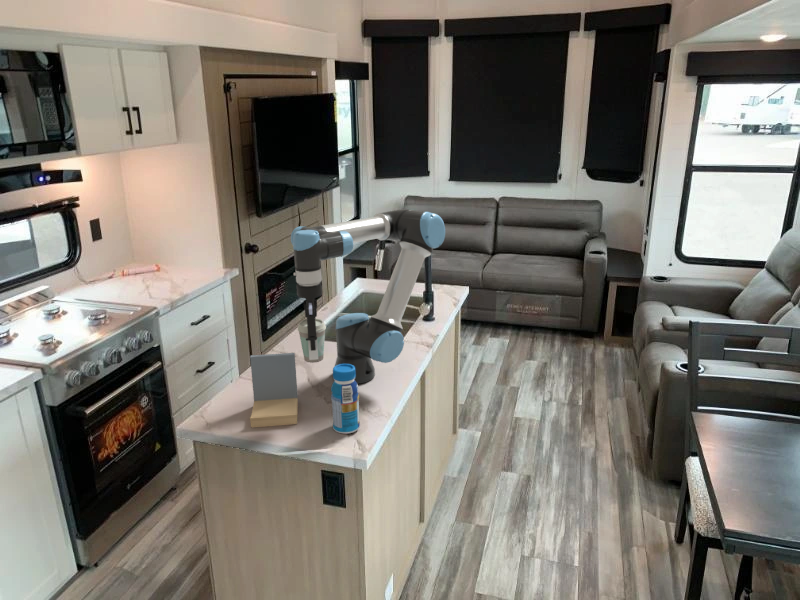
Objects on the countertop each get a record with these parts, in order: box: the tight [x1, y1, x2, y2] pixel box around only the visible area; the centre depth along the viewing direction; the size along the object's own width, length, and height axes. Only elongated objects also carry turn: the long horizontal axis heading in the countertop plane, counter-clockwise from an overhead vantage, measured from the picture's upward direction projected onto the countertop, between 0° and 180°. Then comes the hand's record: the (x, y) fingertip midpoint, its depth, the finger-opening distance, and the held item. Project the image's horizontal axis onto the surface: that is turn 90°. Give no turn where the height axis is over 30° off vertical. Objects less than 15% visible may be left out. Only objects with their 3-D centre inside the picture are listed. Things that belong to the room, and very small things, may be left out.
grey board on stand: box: [249, 352, 299, 429], centre depth 186 cm, size 14×15×18 cm
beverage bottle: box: [330, 364, 361, 435], centre depth 178 cm, size 8×8×20 cm
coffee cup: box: [297, 318, 327, 364], centre depth 180 cm, size 9×8×12 cm
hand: (313, 353), depth 182 cm, fingers closed on coffee cup, 7 cm apart
